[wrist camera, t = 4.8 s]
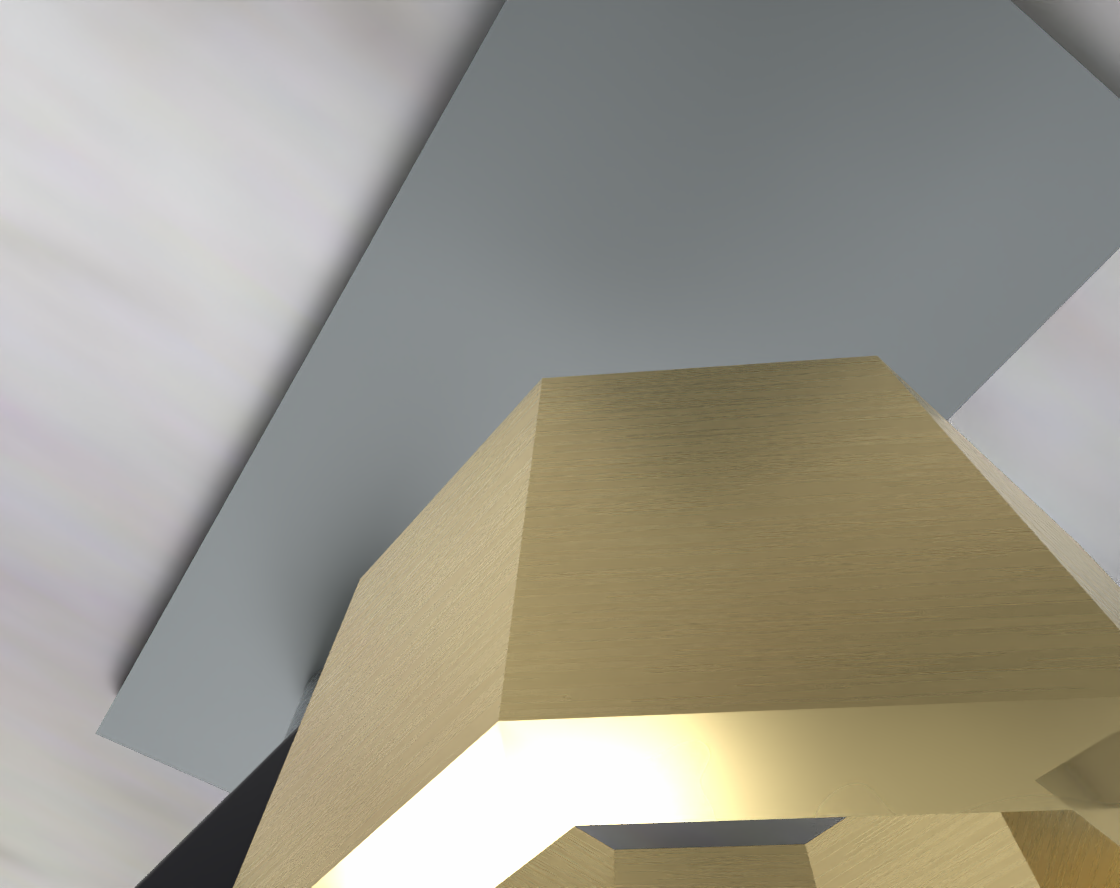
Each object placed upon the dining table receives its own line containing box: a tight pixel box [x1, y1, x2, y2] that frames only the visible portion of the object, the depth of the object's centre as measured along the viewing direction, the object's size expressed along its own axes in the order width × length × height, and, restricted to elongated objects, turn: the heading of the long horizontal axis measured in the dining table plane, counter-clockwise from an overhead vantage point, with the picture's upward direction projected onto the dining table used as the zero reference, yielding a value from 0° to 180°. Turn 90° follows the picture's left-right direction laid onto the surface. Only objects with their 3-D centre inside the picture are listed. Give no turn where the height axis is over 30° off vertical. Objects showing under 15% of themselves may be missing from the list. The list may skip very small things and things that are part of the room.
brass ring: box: [233, 356, 1120, 888], centre depth 7 cm, size 7×7×4 cm
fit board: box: [96, 0, 1120, 793], centre depth 16 cm, size 26×12×7 cm, turn 146°
